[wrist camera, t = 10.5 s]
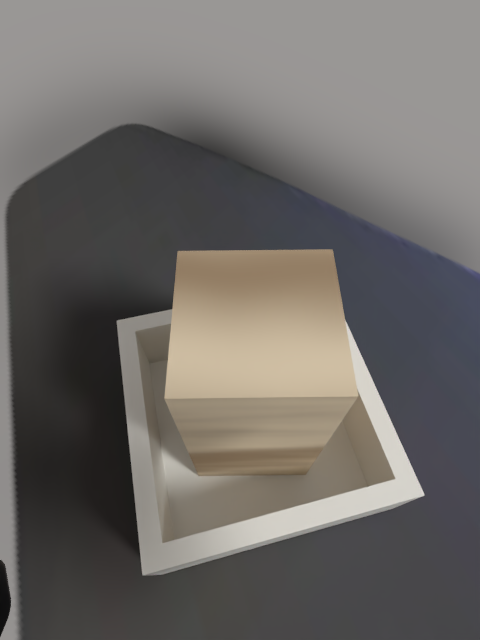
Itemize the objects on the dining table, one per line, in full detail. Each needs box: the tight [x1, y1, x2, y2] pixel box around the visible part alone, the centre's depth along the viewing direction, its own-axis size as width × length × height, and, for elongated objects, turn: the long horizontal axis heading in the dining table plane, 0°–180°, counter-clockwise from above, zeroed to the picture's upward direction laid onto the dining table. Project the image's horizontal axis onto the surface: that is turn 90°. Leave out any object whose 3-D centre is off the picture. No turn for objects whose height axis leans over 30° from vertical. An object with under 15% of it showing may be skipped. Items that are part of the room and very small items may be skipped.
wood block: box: [164, 250, 358, 476], centre depth 16 cm, size 5×5×10 cm
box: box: [117, 309, 424, 576], centre depth 19 cm, size 11×11×4 cm
